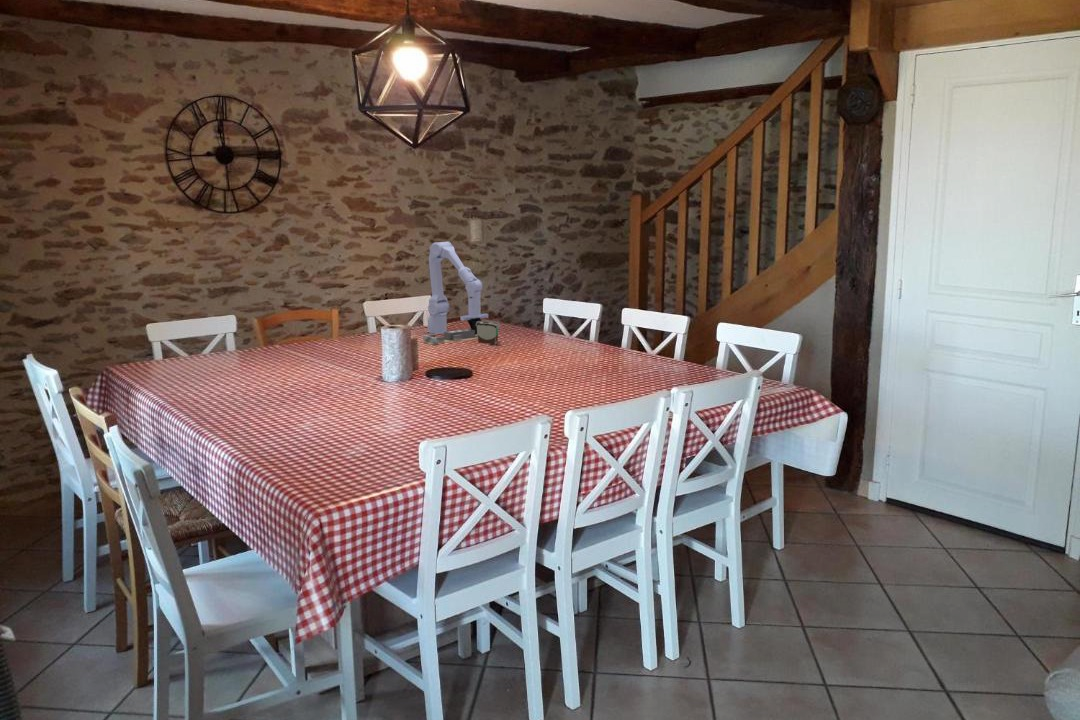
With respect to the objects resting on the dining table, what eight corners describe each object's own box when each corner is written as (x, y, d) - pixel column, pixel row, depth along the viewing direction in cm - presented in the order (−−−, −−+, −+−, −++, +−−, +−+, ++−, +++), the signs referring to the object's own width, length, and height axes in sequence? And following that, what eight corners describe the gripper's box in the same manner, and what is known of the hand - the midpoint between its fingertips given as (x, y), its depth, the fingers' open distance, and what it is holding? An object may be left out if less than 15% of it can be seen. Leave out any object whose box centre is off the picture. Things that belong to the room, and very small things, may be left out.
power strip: (444, 339, 386) (444, 331, 386) (469, 336, 395) (469, 328, 394) (449, 340, 383) (449, 333, 382) (474, 337, 391) (474, 330, 391)
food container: (505, 343, 380) (505, 322, 378) (497, 346, 375) (497, 324, 373) (483, 341, 386) (483, 319, 384) (475, 343, 381) (475, 321, 379)
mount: (421, 342, 382) (420, 335, 381) (480, 334, 402) (480, 328, 402) (432, 345, 374) (432, 338, 374) (492, 337, 395) (492, 331, 394)
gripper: (466, 308, 384) (466, 337, 386) (492, 305, 392) (492, 334, 395) (457, 306, 389) (458, 335, 392) (483, 303, 398) (483, 331, 401)
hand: (474, 334), depth 394 cm, fingers closed
